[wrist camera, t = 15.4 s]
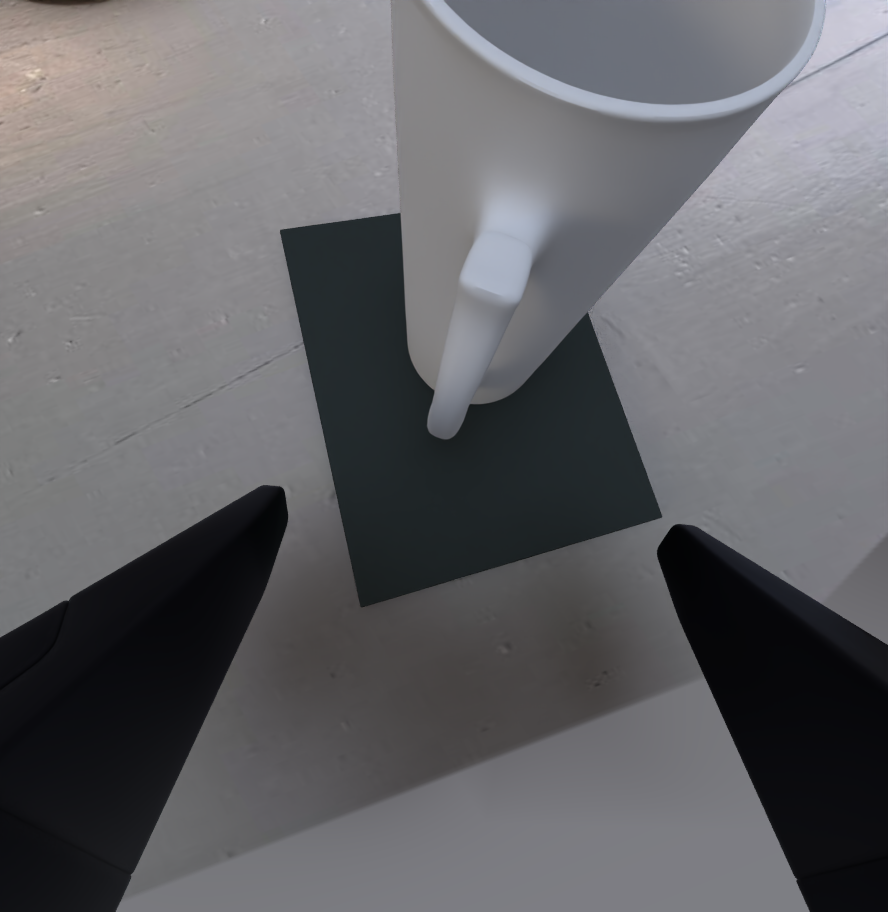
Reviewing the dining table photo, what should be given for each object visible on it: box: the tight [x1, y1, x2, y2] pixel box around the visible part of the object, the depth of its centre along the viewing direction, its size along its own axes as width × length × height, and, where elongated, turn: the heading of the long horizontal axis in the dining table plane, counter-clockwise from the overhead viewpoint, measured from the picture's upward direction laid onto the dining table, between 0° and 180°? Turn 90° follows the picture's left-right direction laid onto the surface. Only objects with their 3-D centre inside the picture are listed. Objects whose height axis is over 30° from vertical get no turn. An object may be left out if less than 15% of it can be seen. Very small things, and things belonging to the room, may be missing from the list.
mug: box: [391, 0, 826, 439], centre depth 11 cm, size 10×7×12 cm, turn 161°
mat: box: [280, 213, 662, 607], centre depth 17 cm, size 18×14×1 cm
